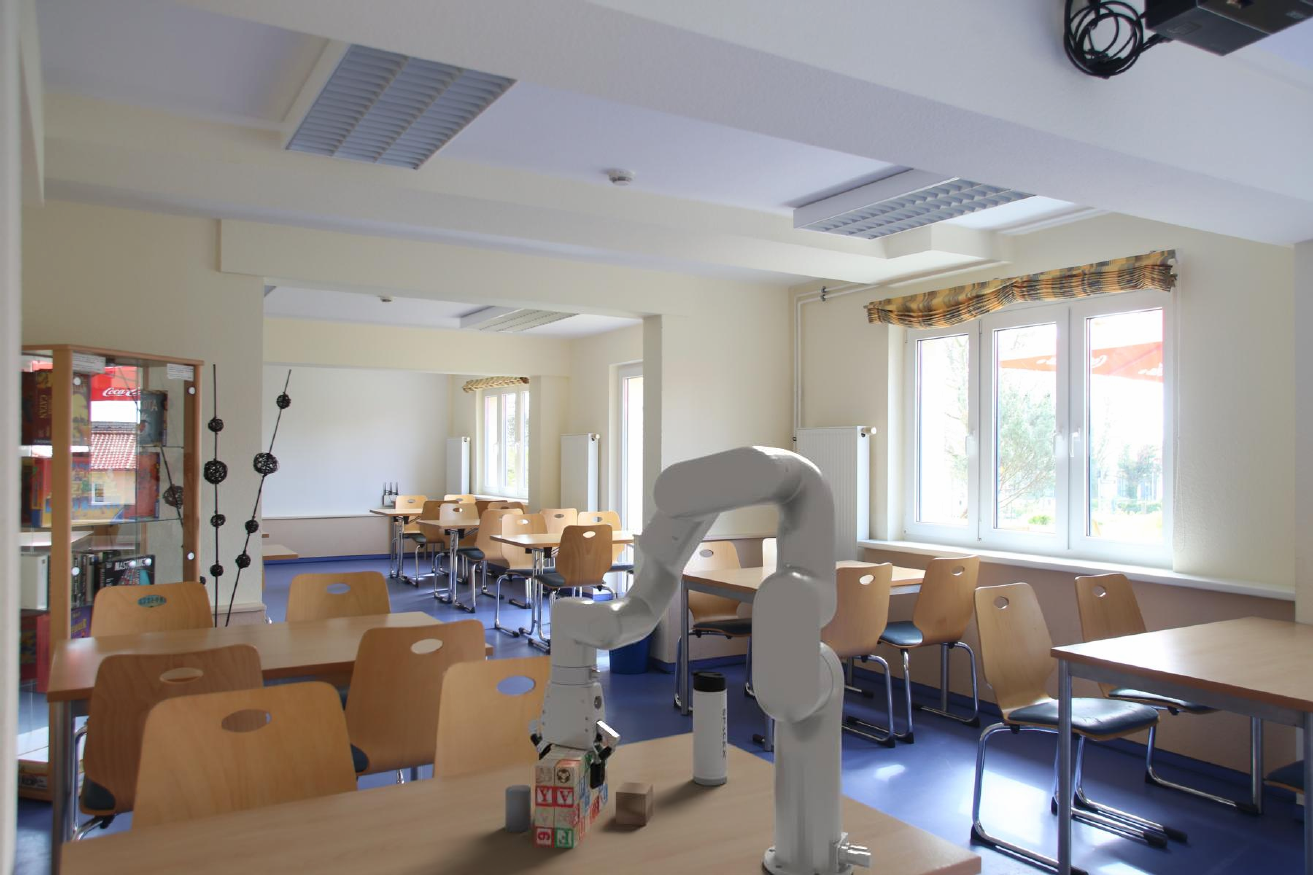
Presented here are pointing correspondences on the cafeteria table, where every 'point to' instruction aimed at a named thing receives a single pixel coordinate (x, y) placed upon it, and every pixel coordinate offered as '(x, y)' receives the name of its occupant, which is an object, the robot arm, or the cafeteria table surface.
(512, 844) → the cafeteria table surface
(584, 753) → the stack of blocks
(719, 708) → the travel mug
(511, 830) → the dark grey cylinder
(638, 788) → the walnut cube
